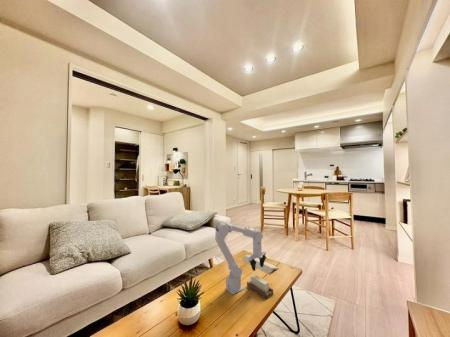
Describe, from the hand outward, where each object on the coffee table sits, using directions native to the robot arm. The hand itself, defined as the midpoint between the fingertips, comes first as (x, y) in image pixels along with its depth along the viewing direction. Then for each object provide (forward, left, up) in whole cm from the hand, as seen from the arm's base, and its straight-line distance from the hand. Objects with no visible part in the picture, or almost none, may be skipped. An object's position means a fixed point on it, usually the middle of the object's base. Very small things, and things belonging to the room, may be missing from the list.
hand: (257, 268), depth 128 cm
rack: (-5, -6, -10) cm, 12 cm away
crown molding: (+20, +18, -11) cm, 29 cm away
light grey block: (-5, -5, -9) cm, 12 cm away
